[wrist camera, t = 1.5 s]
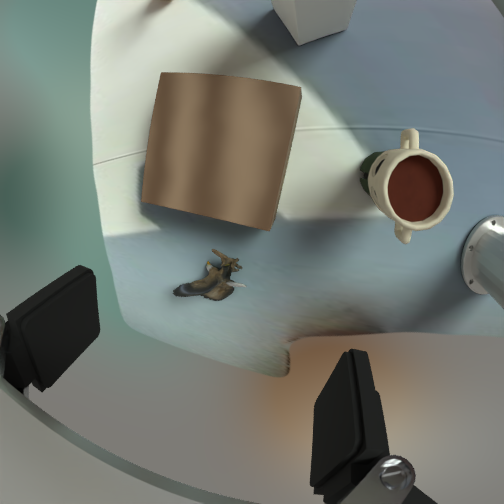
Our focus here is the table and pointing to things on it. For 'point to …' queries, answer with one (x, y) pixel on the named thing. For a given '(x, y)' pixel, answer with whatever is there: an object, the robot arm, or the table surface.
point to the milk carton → (314, 17)
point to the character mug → (408, 186)
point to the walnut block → (220, 146)
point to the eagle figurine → (213, 281)
